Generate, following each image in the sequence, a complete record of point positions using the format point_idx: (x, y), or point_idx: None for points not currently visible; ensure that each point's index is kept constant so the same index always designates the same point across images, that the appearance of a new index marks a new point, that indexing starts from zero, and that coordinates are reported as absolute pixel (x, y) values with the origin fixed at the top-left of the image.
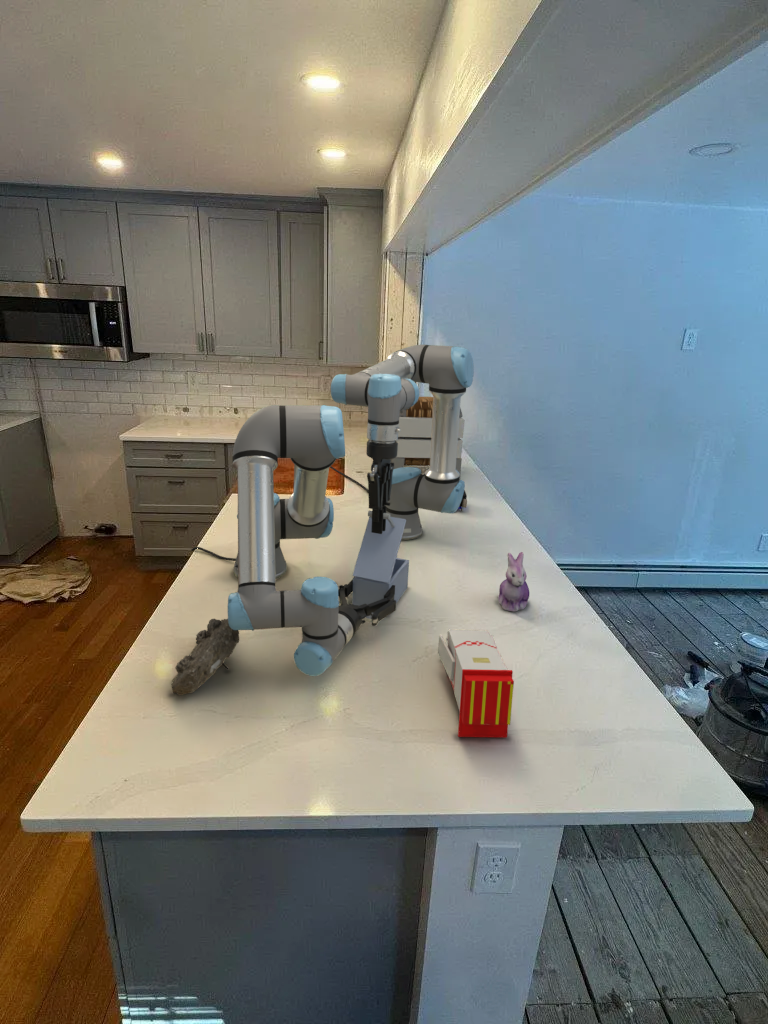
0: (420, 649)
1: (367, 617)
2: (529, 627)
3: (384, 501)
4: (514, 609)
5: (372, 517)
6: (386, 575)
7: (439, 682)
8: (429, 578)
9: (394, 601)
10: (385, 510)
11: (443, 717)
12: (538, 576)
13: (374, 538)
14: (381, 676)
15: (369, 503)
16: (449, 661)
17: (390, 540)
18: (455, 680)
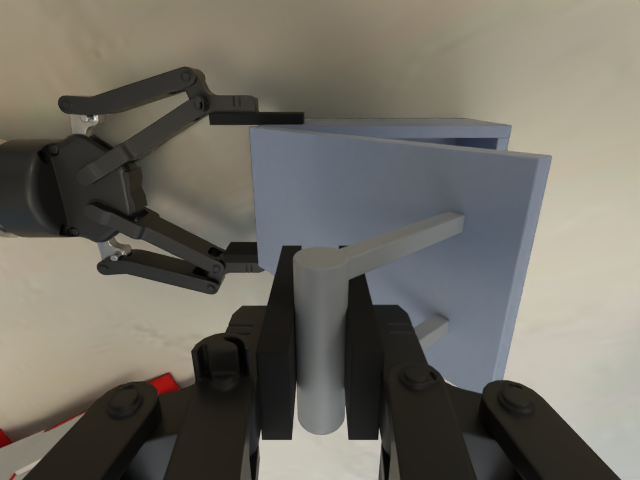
0: (183, 328)
1: (101, 246)
2: (361, 473)
3: (382, 470)
4: None
5: (268, 302)
6: (271, 260)
7: (103, 380)
8: (530, 261)
9: (209, 290)
10: (347, 412)
11: (24, 403)
12: None
13: (372, 208)
14: (51, 289)
15: (56, 453)
16: (38, 452)
17: (371, 293)
18: (21, 454)
